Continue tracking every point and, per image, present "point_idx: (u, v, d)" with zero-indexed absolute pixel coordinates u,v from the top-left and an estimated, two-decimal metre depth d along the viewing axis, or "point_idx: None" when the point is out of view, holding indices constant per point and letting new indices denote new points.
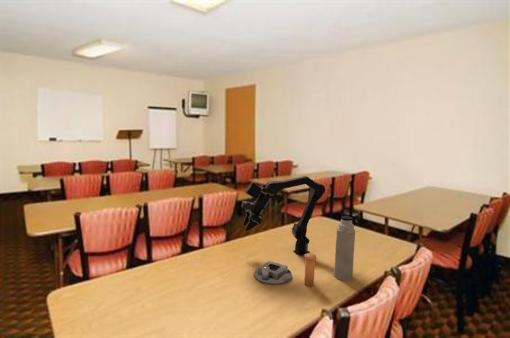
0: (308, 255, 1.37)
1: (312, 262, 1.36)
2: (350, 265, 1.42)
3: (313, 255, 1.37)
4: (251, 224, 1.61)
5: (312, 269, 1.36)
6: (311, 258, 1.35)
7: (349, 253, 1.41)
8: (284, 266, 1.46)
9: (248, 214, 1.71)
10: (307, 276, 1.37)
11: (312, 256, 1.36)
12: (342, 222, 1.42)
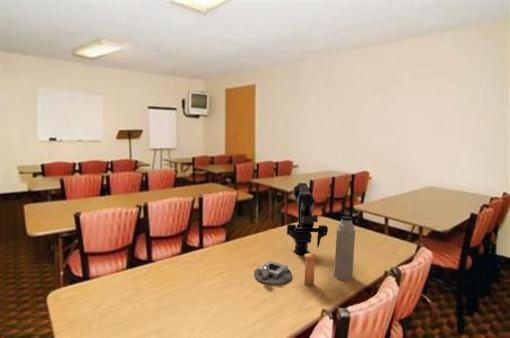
0: (308, 255, 1.37)
1: (312, 262, 1.36)
2: (350, 265, 1.42)
3: (313, 255, 1.37)
4: None
5: (312, 269, 1.36)
6: (311, 258, 1.35)
7: (349, 253, 1.41)
8: (284, 266, 1.46)
9: None
10: (307, 276, 1.37)
11: (312, 256, 1.36)
12: (342, 222, 1.42)
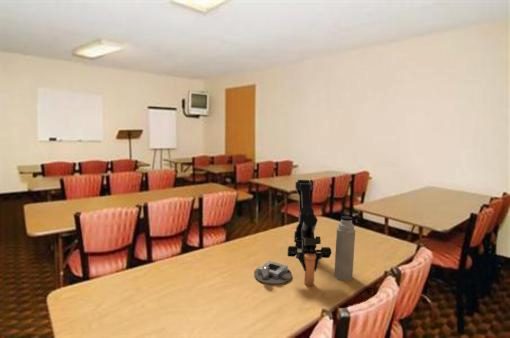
0: (308, 255, 1.37)
1: (312, 262, 1.35)
2: (350, 265, 1.42)
3: (313, 255, 1.37)
4: None
5: (312, 269, 1.36)
6: (311, 258, 1.35)
7: (349, 253, 1.41)
8: (284, 266, 1.46)
9: None
10: (307, 276, 1.37)
11: (312, 256, 1.36)
12: (342, 222, 1.42)
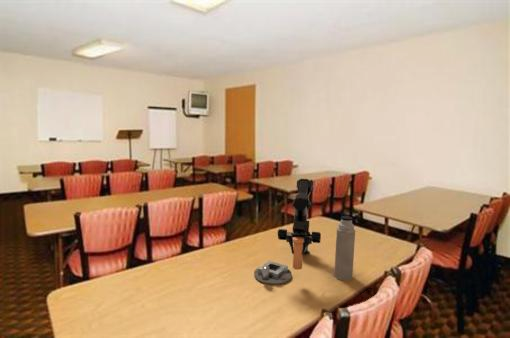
0: (296, 238, 1.37)
1: (299, 245, 1.36)
2: (350, 265, 1.42)
3: (301, 239, 1.37)
4: None
5: (300, 252, 1.36)
6: (298, 241, 1.35)
7: (349, 253, 1.41)
8: (284, 266, 1.46)
9: (292, 239, 1.40)
10: (294, 259, 1.37)
11: (300, 239, 1.36)
12: (342, 222, 1.42)
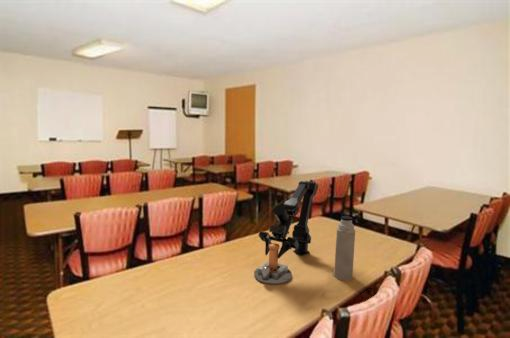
0: (272, 244, 1.45)
1: (273, 251, 1.43)
2: (350, 265, 1.42)
3: (276, 245, 1.44)
4: (283, 250, 1.44)
5: (273, 258, 1.43)
6: (272, 247, 1.43)
7: (349, 253, 1.41)
8: (284, 266, 1.46)
9: (269, 241, 1.48)
10: (269, 264, 1.45)
11: (275, 246, 1.43)
12: (342, 222, 1.42)
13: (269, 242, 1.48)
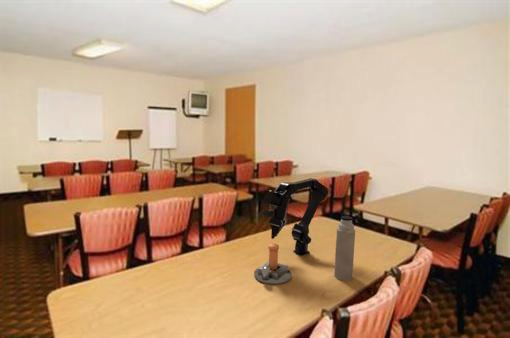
0: (271, 245, 1.44)
1: (273, 252, 1.42)
2: (350, 265, 1.42)
3: (276, 246, 1.43)
4: (274, 230, 1.55)
5: (273, 259, 1.43)
6: (271, 248, 1.42)
7: (349, 253, 1.41)
8: (284, 266, 1.46)
9: None
10: (269, 265, 1.45)
11: (274, 246, 1.43)
12: (342, 222, 1.42)
13: None
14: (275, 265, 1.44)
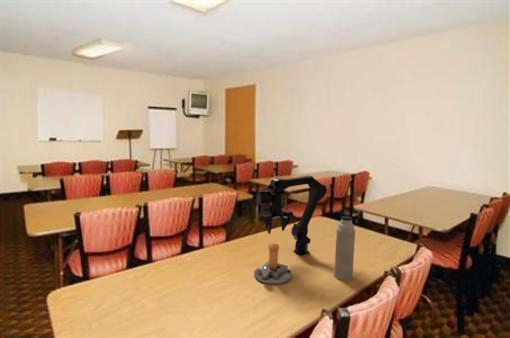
0: (271, 245, 1.44)
1: (273, 252, 1.42)
2: (350, 265, 1.42)
3: (276, 246, 1.43)
4: (267, 226, 1.62)
5: (273, 259, 1.43)
6: (271, 248, 1.42)
7: (349, 253, 1.41)
8: (284, 266, 1.46)
9: (282, 218, 1.69)
10: (269, 264, 1.45)
11: (274, 246, 1.43)
12: (342, 222, 1.42)
13: (283, 219, 1.68)
14: (275, 265, 1.44)
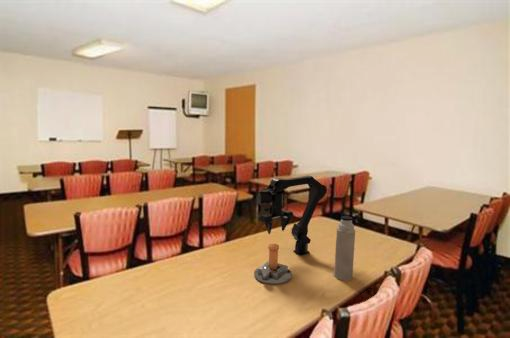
0: (271, 245, 1.44)
1: (273, 252, 1.42)
2: (350, 265, 1.42)
3: (276, 246, 1.43)
4: (267, 226, 1.62)
5: (273, 259, 1.43)
6: (271, 248, 1.42)
7: (349, 253, 1.41)
8: (284, 266, 1.46)
9: (282, 218, 1.69)
10: (269, 265, 1.45)
11: (274, 246, 1.43)
12: (342, 222, 1.42)
13: (283, 219, 1.68)
14: (275, 265, 1.44)
